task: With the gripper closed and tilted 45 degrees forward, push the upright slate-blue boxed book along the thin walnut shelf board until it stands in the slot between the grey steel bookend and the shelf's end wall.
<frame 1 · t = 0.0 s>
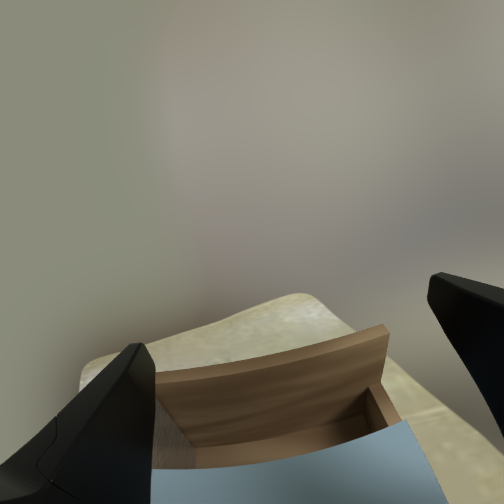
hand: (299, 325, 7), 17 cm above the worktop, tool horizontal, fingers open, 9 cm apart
bookend: (183, 477, 16), resting on shelf
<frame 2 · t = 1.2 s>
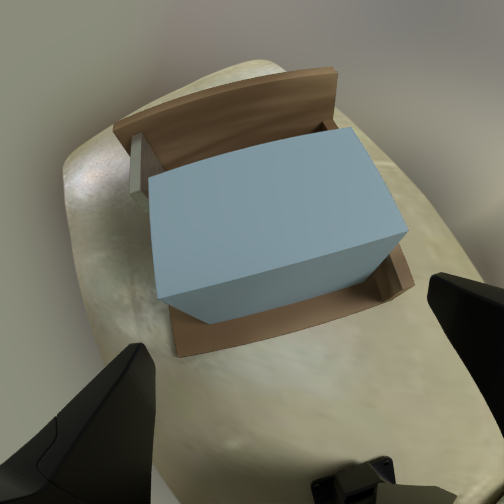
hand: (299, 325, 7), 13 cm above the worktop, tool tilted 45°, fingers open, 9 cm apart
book: (276, 261, 21), point 1 cm above the worktop, touching shelf
shelf: (262, 237, 23), on the worktop
bookend: (169, 217, 24), resting on shelf
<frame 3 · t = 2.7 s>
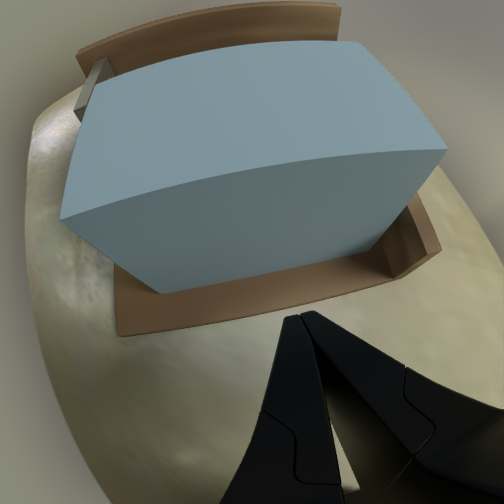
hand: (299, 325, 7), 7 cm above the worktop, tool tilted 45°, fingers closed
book: (254, 216, 16), point 1 cm above the worktop, touching shelf
shelf: (239, 189, 18), on the worktop
bookend: (129, 165, 18), resting on shelf
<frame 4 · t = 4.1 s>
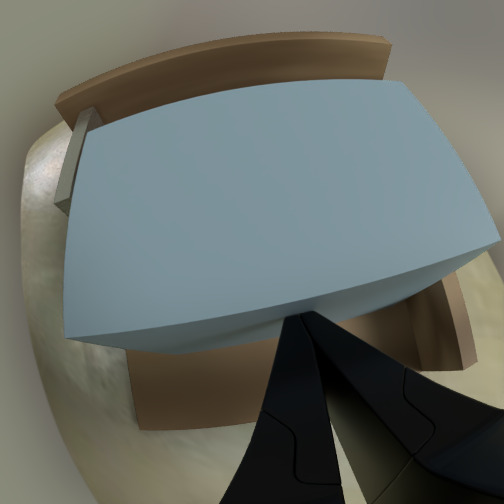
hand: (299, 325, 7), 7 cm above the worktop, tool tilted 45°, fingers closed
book: (274, 271, 15), point 1 cm above the worktop
shelf: (263, 271, 16), on the worktop
bookend: (133, 232, 17), resting on shelf
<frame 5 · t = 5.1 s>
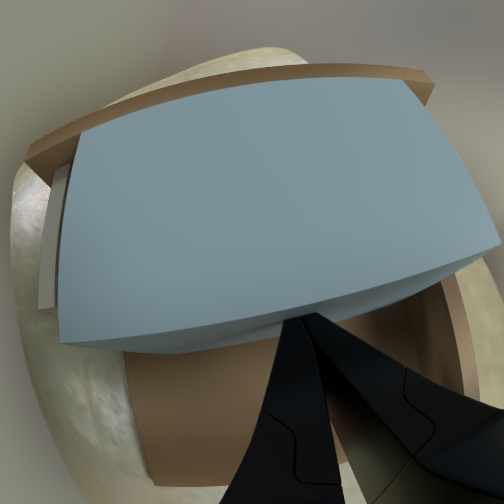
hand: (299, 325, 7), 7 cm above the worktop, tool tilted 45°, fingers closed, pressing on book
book: (272, 270, 15), point 1 cm above the worktop, touching gripper, shelf
shelf: (275, 337, 14), on the worktop
bookend: (132, 289, 15), resting on shelf
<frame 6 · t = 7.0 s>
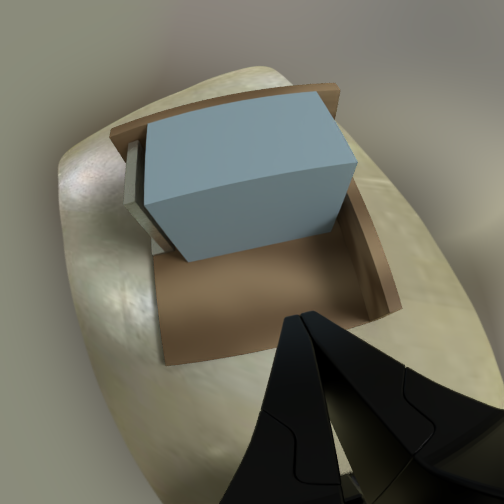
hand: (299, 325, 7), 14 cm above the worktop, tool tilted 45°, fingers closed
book: (251, 210, 24), point 1 cm above the worktop, touching shelf
shelf: (253, 251, 23), on the worktop
bookend: (161, 225, 24), resting on shelf
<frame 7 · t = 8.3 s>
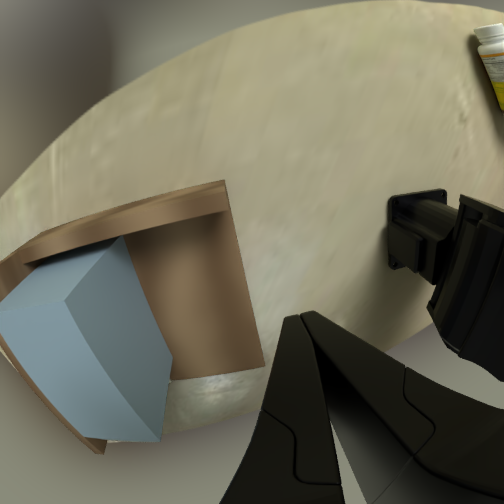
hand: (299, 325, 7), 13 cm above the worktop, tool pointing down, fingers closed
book: (112, 310, 21), point 1 cm above the worktop, touching shelf
shelf: (152, 305, 22), on the worktop
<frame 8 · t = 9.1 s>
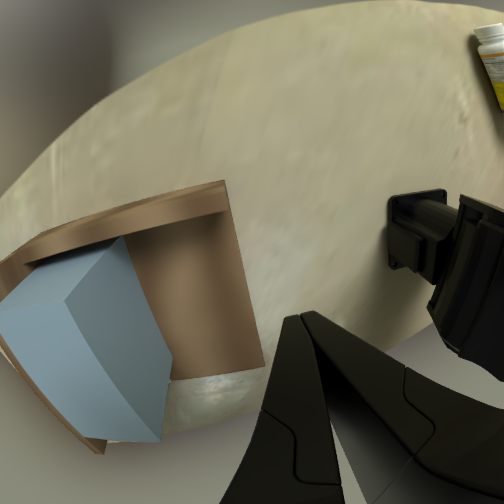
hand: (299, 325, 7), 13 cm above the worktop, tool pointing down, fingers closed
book: (112, 310, 21), point 1 cm above the worktop, touching shelf
shelf: (152, 305, 22), on the worktop
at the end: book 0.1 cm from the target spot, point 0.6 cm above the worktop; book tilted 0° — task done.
